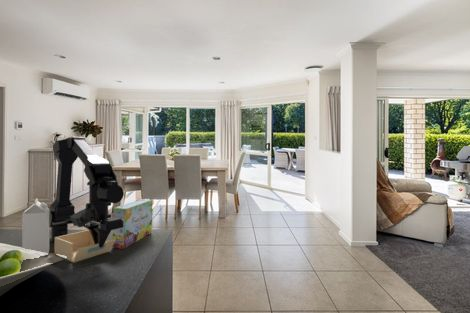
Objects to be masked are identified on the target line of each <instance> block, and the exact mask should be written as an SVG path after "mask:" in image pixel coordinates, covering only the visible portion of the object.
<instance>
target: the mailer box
mask: <svg viewBox="0 0 470 313" xmlns="http://www.w3.org/2000/svg"><path fill="white" fill-rule="evenodd" d="M106 241H109V236H108V237H107V239H106ZM91 245H94V241H93V238H92V235H91V233H90V231H89V230H88V229H85V230H80V231H78V232H73V233H68V235H63V236H59V237H55V243H54V255H55V254H60V255H65V256H67V260H66V261H68V262H71V263H73V260H74V257H75V255H76V253H77V251H78V249H80V248H83V247H87V246H91Z"/></svg>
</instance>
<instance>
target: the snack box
mask: <svg viewBox="0 0 470 313" xmlns="http://www.w3.org/2000/svg"><path fill="white" fill-rule="evenodd" d="M112 211H113V217H112V218H114V217H115V218H120V219H122V220H123V221H124V227H122V228H118V229H114V230H112V240H113V239H116V241H115V242H114V244H113V246H112V248H115V249H122V250H125V249H126V248H128V247H130V246H131V245H133V244H135V243H137V242H139V241H141V240H142V239H144V238H146V237H147V236H146V235H148V234H149V233H151V232H152V226H153V224H152V223H153V199H147V198H145V199H144V198H142V199H138V200H134V201H132V202H128V203H124V204H121V205H119V206H115V207H113V210H112ZM151 234H152V233H151ZM145 236H146V237H145ZM148 236H149V235H148ZM143 237H144V238H143ZM141 238H142V239H141ZM140 239H141V240H140ZM138 240H139V241H138Z"/></svg>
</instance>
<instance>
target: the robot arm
mask: <svg viewBox="0 0 470 313" xmlns="http://www.w3.org/2000/svg"><path fill="white" fill-rule="evenodd" d="M52 152H53V157H54V158H55V159H56V161H57V163H58V164H57V175H56V188H55V189H56V191H55V200H54V201H53V202H51V205H50V206H49V228H50V237H49V243H50V242H51V243H53V244H55V237H59V236H63V235H68V234H69V230H68V228H69V226H68V225H71V224H72V225H73V226H74V227H78V228H86V230H89V231H90V233H91V235H92V238H93V241H94V244H98V243H99V247H100V248H101V247H103V245H104V243H105V241H106V239H107V237H108V238H109V235H110V233H112V231H113V230H114V229H118V228H122V227H124V221H123V220H122V219H120V218H115V217H114V218H113V217H112V214H109V207H110V206H111V205H112V204H117V203H120V202H121V201H122V200H123V198H124V195H125V194H124V193H125V192H124V189H123V188H122V186H120V185H119V181H118V179H117V175H116V173H115V172H114V169H113V167H112V164H111V163H110V162H109V161H108V160H106V159H105V158H103V157H100V156H98V155H97V154H96V153H95V151H94V150H93V149H92V148H91V146H90V145H89V144H88V143H87V142H86V138H85V137H83V136H69V137H67V138H64V139H58V140H56V141H55V142H54V143H53V145H52ZM78 158H79V160H80V161H81V162H82V164H83V165H84V169H83V173H84V175H85V176H86V178H87V180H88V181H87V182H86V185H87V186H88V187H89V189H88V192H89V193H88V194H89V196H88V197H89V198H88V199H89V201H88V202H86V204H85V208H84V209H81V210H79V211H78V212H76V211H75V206H74V204H73V203H72V202H71V191H72V190H71V187H72V176H73V165H74V163H75V161H76V160H77V159H78Z"/></svg>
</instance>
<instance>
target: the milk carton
mask: <svg viewBox="0 0 470 313" xmlns="http://www.w3.org/2000/svg"><path fill="white" fill-rule="evenodd" d="M48 206H49V204H47V203H46V202H43V201H42V202H40V201H39V200H38V197H37V198H36V199H35V200H34V203H33V204H31V205H30V206H29V207H28V208H26V209H25V210H24V211H23V213H22V215H21V220H22V224H21V225H22V226H21V228H22V229H21V230H22V232H21V234H22V235H21V236H22V238H21V240H22V245H21V246H22V247H21V248H25V249H31V250H36V251H41V252H47V253H48V254H49V253H50V241H49V238H50V227H49V212H50V207H48Z"/></svg>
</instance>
